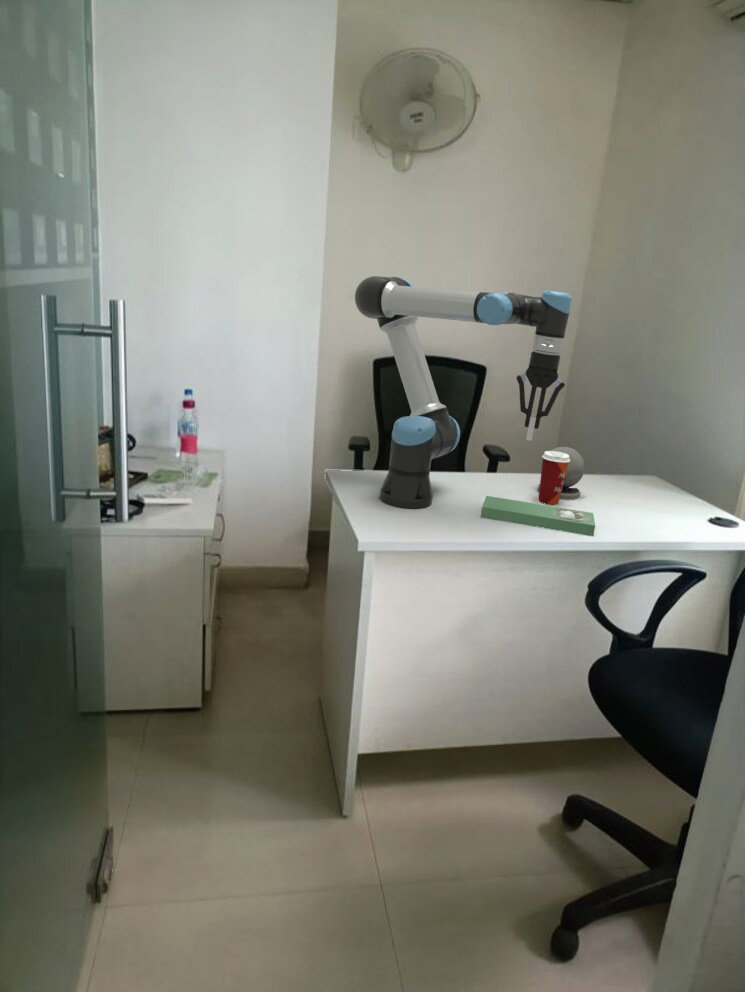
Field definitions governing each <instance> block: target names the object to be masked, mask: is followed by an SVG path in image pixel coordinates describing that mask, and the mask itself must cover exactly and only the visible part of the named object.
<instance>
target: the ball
mask: <svg viewBox="0 0 745 992" xmlns="http://www.w3.org/2000/svg"><path fill="white" fill-rule="evenodd" d="M561 515H562V516H564V517H566V518H570V519H575V515H574V513H573V512H571V511H564V512H563V513H562V514H561Z"/></svg>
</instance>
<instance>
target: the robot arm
mask: <svg viewBox="0 0 745 992" xmlns="http://www.w3.org/2000/svg"><path fill="white" fill-rule="evenodd" d="M354 293H355V294H354V302H355V305H356V308H357V310H358V311H359V312H360V313H361V314H362V315H363V316H364V317H365V318H368V319H373V320H377V324H378V327H379V330H380V331H382V332H384V333H385V334H386V335H387V339H388V342H389V344H390V347H391V351H392V354H393V357H394V359H395V363H396V367H397V369H398V373H399V376H400V379H401V383H402V384H403V388H404V392H405V395H406V398H407V402H408V404H409V408H410V411H411V413H410V415H409V416H407V415H406V416H402V417H399V418H398V419H396V420H395V422H394V423H393V429H392V432H391V443H390V453H389V463H388V464H389V465H388V472H387V474H386V476H385V478H384V481H383V483H382V485H381V488H380V490H379V499H380V500H381V501H382V502H384V503H385V504H388V505H390V506H393V507H394V506H395V507H397V508H405V509H422V508H427V507H430V506H432V504H433V497H434V495H433V489H432V483H431V478H430V472H431V467H432V466H431V464H432V460H433V459H436V458H439V457H443V456H446V455H448V454H449V453H451V452H452V451H454V450H455V449H456V447H457V446H458V443H459V442H460V439H461V429H460V426H459V424H458V422H457V420H456V419H455V418H453V417H452V416H451V415H449V411H448V408H447V406H446V405H445V404H443V403H441V402H440V400H439V397H438V394H437V390H436V388H435V385H434V381H433V378H432V374H431V372H430V369H429V368H430V367H429V365H428V362H427V359H426V356H425V352H424V349H423V346H422V343H421V339H420V337H419V334H418V330H417V327H416V322H417V320H418V318H419V317H420V318H430V319H439V320H449V321H450V320H452V321H460V322H471V323H478V324H479V323H480V324H485V325H486V324H487V325H489V326H500V325H519V326H520V325H522V326H529V327H533V328H534V327H535V332H534V337H533V338H534V339H533V342H532V348H531V349H532V350H533V351H532V352H531V353H530V358H529V363H528V368H526V370H525V372H523V373H521V374H517V376H516V381H517V383H518V388H519V389H518V390H519V407H520V412H521V413H523V414H525V420H524V427H525V428H527V433H526V437H525V440H526V441H530V442H531V441H533V435H534V432H535V431H534V430H535V429H537V430H538V429H539V428H540V422H541V419H542V417H548V416H549V414H550V412H551V410H552V407H554V406H553V405H554V403H555V401H556V399H557V397H558V395H559V393H560V391H561V390H563V388H564V387H565V383H566V382H564V381H563V380H562V379H560V378H559V373H558V370H559V367H560V366H559V365H560V360H561V356H560V354H561V353H562V350H563V344H564V340H565V336H566V335H565V334H566V330H567V327H568V321H569V315H570V314H571V311H570V310H571V305H572V295H571V294H569V293H568V292H561V291H555V290H554V291H553V290H546V289H545V290H544V291H543V292H542V295H541V296H531V295H525V294H519V293H515V292H505V291H504V292H486V291H485V292H484V291H483V292H482V291H474V290H473V291H471V290H459V289H448V288H447V289H446V288H435V287H433V288H432V287H421V286H420V287H419V286H414V284H412V282H411V281H409V280H407V279H404V278H401V277H396V276H388V277H387V276H378V275H377V276H376V275H375V276H374V275H373V276H369V277H366V278H365V279H363V280H362V281H361V282H360V283H359V284H358V286H357V287H356V289H355V292H354ZM526 379H527V380H528V381H529V382H528V383H529V384H530V386H531V390H530V395H529V401H528V405H527V407H526V391H525V382H526V381H527V380H526ZM554 383H555V384H554ZM553 384H554V387H555V388H554V389H553V392H552V394H551V396H550V398H549V400H548V403H547V405H546V406H545V409H544V408H543V407H544V402H545V398H546V397H545V396H546V393H547V389H549V388H550V387H551V386H552V385H553ZM537 388H540V394H539V395H540V396H539V399H538V407H537V411H536V414H533V413H532V412H533V407H534V403H535V397H536V394H537V393H536V392H537ZM543 409H544V410H543Z"/></svg>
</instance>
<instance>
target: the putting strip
mask: <svg viewBox="0 0 745 992" xmlns="http://www.w3.org/2000/svg"><path fill="white" fill-rule="evenodd" d="M564 511H571V512H573V513H574V515H575V519H570V518H566V517H564V516H562V515H561V514H562V513H563V512H564ZM480 518H482V519H489V520H496V521H502V522H507V523H512V524H513V523H514V524H519V525H524V524H525V525H526V526H530V525H531V526H532V527H536V526H538V528H542V527H544V528H543V529H548V528H549V529H550V530H554V529H555V530H554V531H560V530H562V531H561V532H566V531H567V532H568V533H574V534H579V535H584V536H590V535H591V537H594V535H595V534H594V533H595V530H596V529H595V528H596V522H595V515H594V512H589V511H583V510H578V509H577V510H576V509H571V508H565V507H559V506H554V505H548V504H542V503H541V504H540V503H535V502H534V503H533V502H528V501H521V500H515V499H511V498H510V499H508V498H503V497H498V496H492V495H486V496H485V498H484V500H483V504H482V509H481V514H480Z"/></svg>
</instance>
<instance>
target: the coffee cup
mask: <svg viewBox="0 0 745 992" xmlns="http://www.w3.org/2000/svg"><path fill="white" fill-rule="evenodd" d="M541 458H542V462H541V472H540V480H539V484H540V488H539V492H538V499H537V500H539V501H538V502H539V503H541V504H544V503H545V504H544V505H548V504H549V505H548V506H556V505H555V504H557V505H558V504H559V502H560V500H561V499H560V495H561V491H562V487H563V483H564V479H565V475H566V471H567V467H568V463H569V462H570V459H569V455H568V454H566V453H562V452H557V451H551V450H546V451H544V452H543V455H541Z"/></svg>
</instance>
